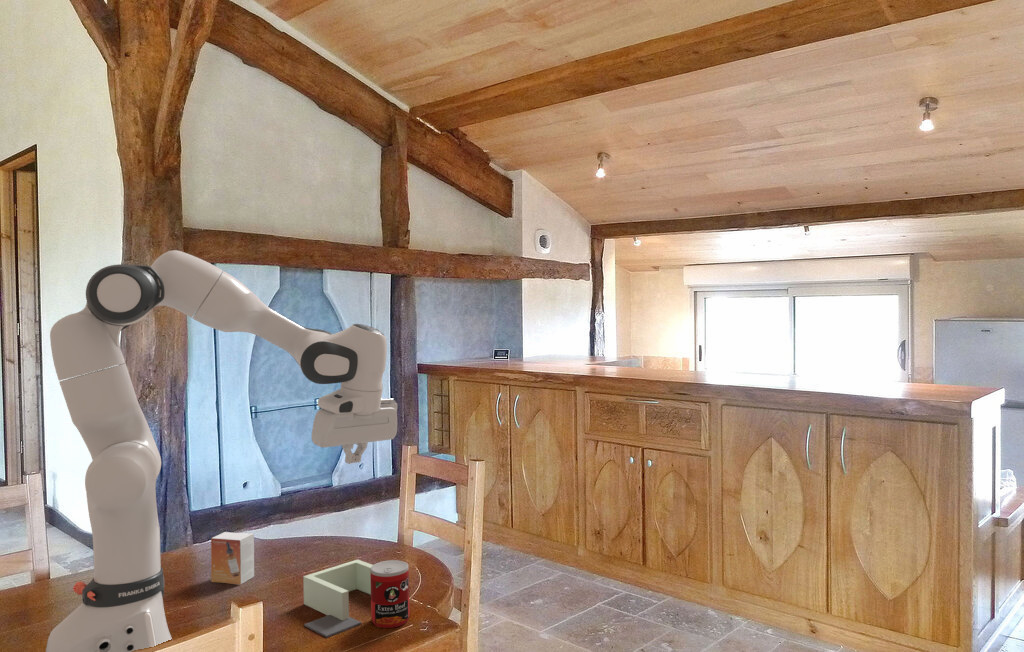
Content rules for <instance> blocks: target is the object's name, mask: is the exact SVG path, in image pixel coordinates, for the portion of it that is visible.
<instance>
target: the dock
mask: <svg viewBox="0 0 1024 652" xmlns="http://www.w3.org/2000/svg"><path fill="white" fill-rule="evenodd" d="M373 565H374V564H372V563H369V562H366V561H363V560H361V559H359V558H357V559H355V560H352V561H348V562H345V563H342V564H339V565H335V566H332V567H329V568H325V569H322V570H319V571H316V572H313V573H309V574H307V575H303V576H302V577H303V581H302V582H303V604H304V605H305V606H307V607H309V608H311V609H314V610H316V611H318V612H320V613H322V614H324V615H325V616H328V615H332V616H334V617H336V618H338V619H340V620H346V619H348V618H349V617H350V603H349V601H350V600H349V599H350V598H349V596H350V595H349V593H350V592H351V591H354V590H359V591H361V592H363V593H366V594H368V595H370V596H371V579H370V576H371V574H370V571H371V567H372V566H373Z"/></svg>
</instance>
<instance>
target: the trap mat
mask: <svg viewBox="0 0 1024 652" xmlns="http://www.w3.org/2000/svg"><path fill="white" fill-rule="evenodd" d="M360 625H362V621H360V620H358V619H356V618H354V617H351V616H349V618H348V619H346V620H340V619H338V618H336V617H334V616H332V615H325V616H323V617H320V618H317V619H315V620H312V621H310V622H306V623H304V625H303V626H304V627H305V628H308V629H310V630H311V631H313V632H315V633H317V634H319V635H321V636H323V637H324V638H326V639H327V638H330V637H332V636H335V635H337V634H340V633H343V632H344V631H345V632H346V631H347V630H350V629H353V628H355V627H357V626H360Z"/></svg>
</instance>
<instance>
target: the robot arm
mask: <svg viewBox="0 0 1024 652" xmlns="http://www.w3.org/2000/svg"><path fill="white" fill-rule="evenodd" d="M85 288H86V289H85V299H86V304H85V307H84V308H83V309H82V310H80V311H78V312H75V313H71V314H68V315H66V316H64V317H61V318H60V319H58V320H57V321H56V322H55V323H54V324H53V325H52V327H51V329H50V331H49V339H50V348H51V355H52V356H51V357H52V361H53V366H54V369H55V373H56V376H57V379H58V384H59V385H60V389H61V392H62V395H63V397H64V401H65V404H66V407H67V410H68V413H69V416H70V418H71V421H72V424H73V425H74V426H75V427H76V429H77V431H78V432H79V434H80V436H81V438H82V440H83V442H84V443H85V446H86V448H87V449H88V452H89V455H90V456H91V460H92V461H91V462H90V463H89V465H88V467H87V469H86V472H85V477H84V486H85V491H86V502H87V503H86V504H87V509H88V516H89V522H90V528H91V534H92V549H93V550H92V551H93V553H92V554H93V578H92V579H91V580H90V582H89V583H87V584H86V583H85V582H83V581H77V582H75V584H74V585H73V588H72V589H73V592H74V593H76V594H77V595H79V596H81V597H82V603H81V604H80V605H78V606H77V607H76V608H75V609H74V610H72V612H71V613H69V615H68V616H67V617H66V618H64V619H63V620H62V621H61V622H60V623H59V624H57V625H56V626H55V627H54V628H53V629H52V630H51V632H50V633H49V635H48V639H47V642H46V649H45V652H132V651H134V650H138V649H144V648H149V647H154V646H156V645H158V644H161V643H163V642H166V641H168V640H171V639H172V640H173V638H172V635H171V633H170V631H169V627H168V622H167V617H166V614H165V609H164V608H165V607H164V600H163V599H164V598H163V597H164V596H165V575H164V569H163V567H162V566H161V565H162V564H161V563H162V562H161V532H160V531H161V527H160V522H159V517H158V516H159V515H158V506H157V495H156V494H157V491H156V484H157V483H156V482H157V478H158V476H159V475H160V472H161V468H162V457H161V454H160V451H159V449H158V447H157V443H156V441H155V438H154V436H153V433H152V431H151V429H150V426H149V424H148V421H147V419H146V416H145V415H144V413H143V410H142V408H141V406H140V403H139V401H138V397H137V394H136V391H135V388H134V385H133V382H132V379H131V376H130V373H129V369H128V366H127V363H126V360H125V357H124V354H123V352H122V349H121V344H120V333H121V331H124V329H126V328H128V327H130V326H131V325H132V326H133V325H135V324H137V323H139V322H140V321H142V320H143V319H144V318H146V317H147V316H148V315H149V313H150V312H151V310H153V309H154V308H155V307H160V306H162V307H168V308H172V309H173V310H176V311H179V312H180V313H182V314H184V315H185V316H188V317H189V318H190V319H191V318H192V319H193V320H194V321H197V323H200V324H202V325H203V326H206V327H210V328H211V329H214V330H218V331H221V332H223V333H236V332H238V333H239V332H241V333H250V334H251V335H252V334H253V335H255V336H257V337H260V338H261V339H263V340H266V341H267V342H269V343H270V344H272V345H274V346H275V347H278V348H280V349H282V350H283V351H285V352H287V353H288V354H289V355H290V356H292V357H293V358H294V360H295V361H296V363H297V365H298V366H299V368H300V371H301V372H302V374H303V375H304V377H305V378H306V379H307V380H309V381H310V382H312V383H314V384H317V385H330V384H331V385H332V384H338V383H339V384H340V388H339V389H336V390H334V391H332V392H331V393H328V394H325V395H323V396H320V397H319V398H318V400H317V406H318V407H319V409H318V410H317V412H316V414H315V415H314V419H313V423H312V424H313V425H312V429H311V430H312V431H311V441H312V442H313V444H314V445H316V446H318V447H320V448H330V447H331V448H332V447H339V446H341V447H342V450H343V452H344V454H345V458H344V461H345V463H346V464H348V465H351V464H357V463H361V460H362V455H363V453H365V451H366V449H367V448H368V443H371V442H373V443H374V442H380V441H382V442H383V441H390V440H394V438H395V437H396V436H397V433H398V403H397V401H396V400H394V398H391V397H388V398H383V397H382V396H383V389H384V387H383V375H384V373H385V370H386V366H387V365H386V363H387V354H388V353H387V351H388V347H387V345H388V343H387V337H386V335H385V334H384V333H383V332H382V331H381V330H379V329H378V328H375V327H373V326H369V325H366V324H362V323H353V324H352V325H350V326H349V327H347V328H345V329H343V330H340V331H338V332H335V333H332V332H329V331H328V330H325V329H319V328H309V327H306V326H305V327H304V326H303V325H300V324H298V323H296V322H295V321H293V320H291V319H290V318H288V317H286V316H285V315H282V314H281V313H279V312H277V311H275V310H273V309H272V308H271V307H269V306H268V305H267V304H266V303H264V301H262V300H261V299H260V298H259V297H258V296H257V295H256V294H255V293H254V291H252V290H251V289H250V288H248V287H247V286H246V284H244V283H243V282H242V281H240V280H238V278H236V277H234V276H233V275H231V274H230V273H228V272H226V271H225V270H223V269H221V268H219V267H218V266H216V265H214V264H212V263H210V262H208V261H206V260H204V259H201V258H200V257H197V256H195V255H193V254H190V253H188V252H187V253H186V252H184V251H181V250H177V249H174V250H169V251H166V252H164V253H162V254H161V255H160V256H158V257H157V258H156V259H155V260H154V262H153V263H152V264H151V265H141V264H138V265H136V264H135V265H134V264H124V263H122V264H119V263H118V264H111V265H108V266H105V267H103V268H100V269H99V270H97V271H96V272H95V273H93V275H92V276H91V277H90V279H89V280H88V282H87V284H86V287H85ZM355 445H356V449H355V451H354V452H352V450H353V449H354V446H355Z"/></svg>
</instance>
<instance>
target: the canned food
mask: <svg viewBox="0 0 1024 652" xmlns="http://www.w3.org/2000/svg"><path fill="white" fill-rule="evenodd" d="M372 565H373V566H372V567H371V571H370V574H371V576H370V579H371V595H370V611H371V614H370V615H371V616H370V617H371V621H372V625H374V626H375V627H378V628H383V629H393V628H397V627H401V626H403V625H405V624H406V623H408V620H409V617H410V568H409V563H408V562H405V561H402V560H399V559H390V560H389V559H388V560H383V561H380V562H379V561H378V562H377V563H374V564H372Z"/></svg>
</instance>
